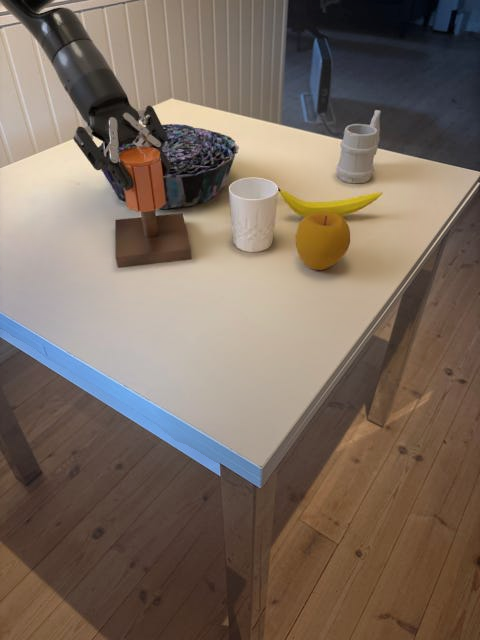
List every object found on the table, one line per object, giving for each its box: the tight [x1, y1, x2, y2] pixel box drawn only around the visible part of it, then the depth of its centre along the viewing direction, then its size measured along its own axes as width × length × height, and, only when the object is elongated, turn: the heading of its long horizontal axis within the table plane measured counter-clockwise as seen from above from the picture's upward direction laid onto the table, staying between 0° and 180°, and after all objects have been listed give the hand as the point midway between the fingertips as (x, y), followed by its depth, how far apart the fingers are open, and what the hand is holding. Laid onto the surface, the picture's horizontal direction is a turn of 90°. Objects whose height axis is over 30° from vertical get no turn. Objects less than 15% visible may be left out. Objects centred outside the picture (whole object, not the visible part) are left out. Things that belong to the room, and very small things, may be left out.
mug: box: [335, 109, 382, 184], centre depth 100 cm, size 8×12×12 cm, turn 139°
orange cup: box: [119, 146, 166, 213], centre depth 76 cm, size 6×6×8 cm
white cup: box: [228, 176, 279, 253], centre depth 81 cm, size 8×8×10 cm
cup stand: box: [114, 210, 192, 268], centre depth 81 cm, size 12×12×8 cm
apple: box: [295, 211, 351, 271], centre depth 76 cm, size 8×8×9 cm
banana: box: [278, 186, 383, 218], centre depth 88 cm, size 3×19×6 cm, turn 92°
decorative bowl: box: [97, 123, 240, 210], centre depth 97 cm, size 26×28×10 cm
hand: (149, 179), depth 75 cm, fingers closed on orange cup, 6 cm apart
